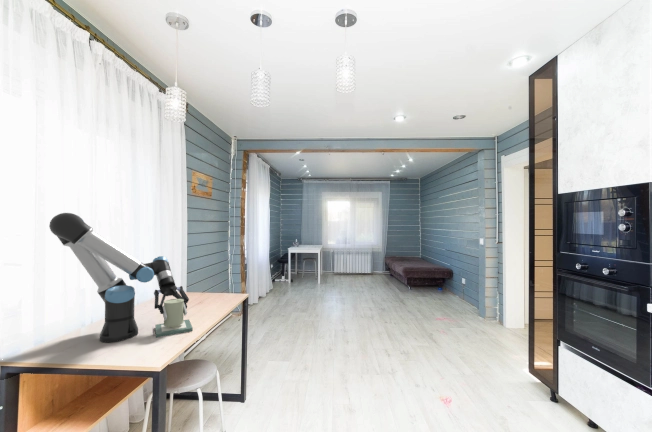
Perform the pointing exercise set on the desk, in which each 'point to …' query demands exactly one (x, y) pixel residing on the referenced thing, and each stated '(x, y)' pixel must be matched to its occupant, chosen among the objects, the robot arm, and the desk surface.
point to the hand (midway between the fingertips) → (176, 316)
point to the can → (174, 312)
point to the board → (173, 329)
